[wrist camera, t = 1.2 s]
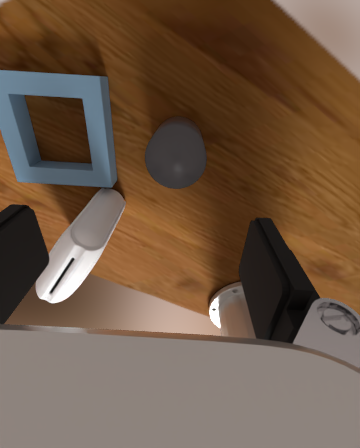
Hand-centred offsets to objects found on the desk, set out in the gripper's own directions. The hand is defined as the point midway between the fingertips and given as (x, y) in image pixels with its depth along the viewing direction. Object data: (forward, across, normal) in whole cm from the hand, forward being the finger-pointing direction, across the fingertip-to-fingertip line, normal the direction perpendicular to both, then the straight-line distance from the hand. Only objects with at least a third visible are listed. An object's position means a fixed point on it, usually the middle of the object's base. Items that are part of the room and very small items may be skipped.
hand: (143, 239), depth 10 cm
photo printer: (+19, +10, +11) cm, 24 cm away
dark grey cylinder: (+19, -1, 0) cm, 19 cm away
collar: (+19, +12, 0) cm, 23 cm away
